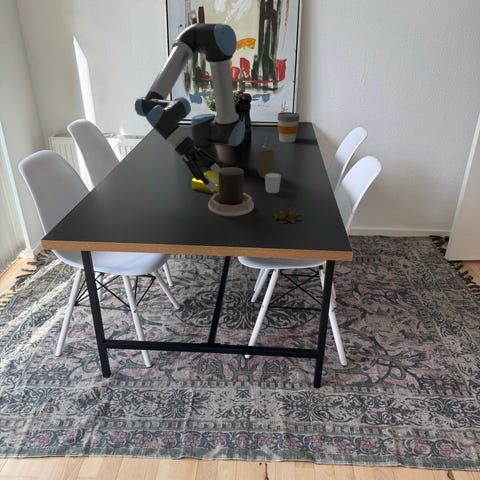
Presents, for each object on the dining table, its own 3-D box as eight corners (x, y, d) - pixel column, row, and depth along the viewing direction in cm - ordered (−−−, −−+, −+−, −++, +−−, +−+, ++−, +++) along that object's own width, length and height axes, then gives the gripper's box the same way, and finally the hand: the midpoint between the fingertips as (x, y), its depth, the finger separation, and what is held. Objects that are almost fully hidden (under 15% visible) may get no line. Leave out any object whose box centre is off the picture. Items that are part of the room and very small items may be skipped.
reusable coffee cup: (299, 143, 261) (300, 117, 254) (277, 143, 261) (278, 116, 254) (296, 137, 272) (298, 112, 265) (275, 137, 272) (277, 111, 265)
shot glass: (282, 189, 197) (283, 173, 194) (278, 194, 192) (278, 178, 188) (266, 187, 199) (267, 171, 196) (262, 192, 194) (263, 176, 190)
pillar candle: (234, 210, 174) (235, 173, 167) (213, 205, 178) (213, 168, 171) (247, 202, 181) (248, 166, 174) (227, 197, 186) (227, 161, 179)
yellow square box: (237, 185, 202) (237, 174, 200) (219, 195, 191) (219, 185, 189) (209, 178, 209) (209, 168, 207) (190, 189, 197) (189, 178, 195)
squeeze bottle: (273, 180, 207) (275, 141, 199) (255, 178, 208) (256, 139, 200) (275, 174, 214) (277, 136, 206) (258, 172, 215) (259, 135, 207)
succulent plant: (279, 227, 165) (280, 216, 162) (265, 215, 174) (265, 204, 172) (308, 222, 169) (309, 211, 167) (293, 210, 178) (293, 199, 176)
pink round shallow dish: (215, 196, 189) (215, 188, 188) (257, 200, 186) (258, 192, 184) (202, 213, 174) (202, 204, 172) (248, 218, 170) (248, 209, 169)
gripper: (185, 139, 184) (221, 178, 189) (162, 158, 163) (203, 201, 167) (197, 127, 181) (233, 167, 185) (175, 144, 159) (217, 188, 164)
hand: (219, 183), depth 176 cm, fingers open, 13 cm apart
